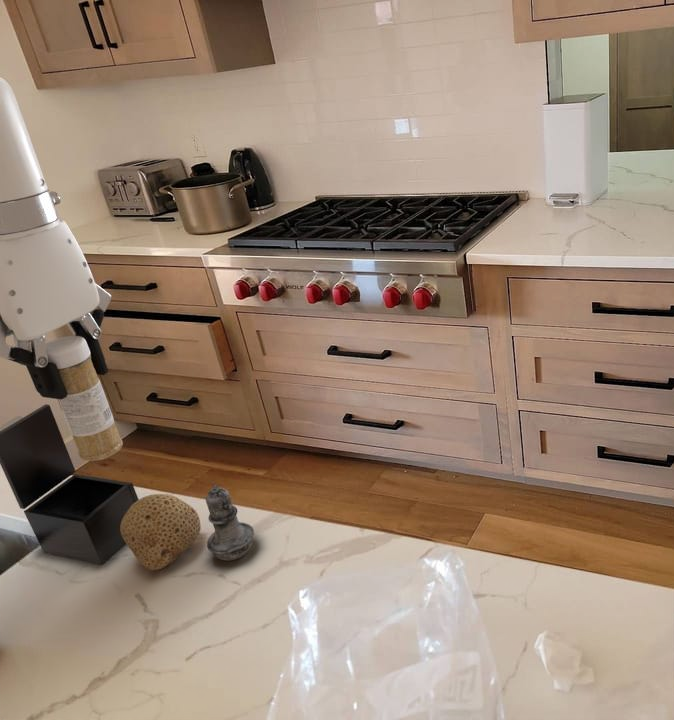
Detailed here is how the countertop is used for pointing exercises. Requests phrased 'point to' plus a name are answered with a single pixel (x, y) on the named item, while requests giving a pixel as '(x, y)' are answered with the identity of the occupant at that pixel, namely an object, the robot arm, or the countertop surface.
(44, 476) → the lid
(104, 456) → the sprinkles bottle
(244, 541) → the grey chess piece
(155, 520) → the natural sponge
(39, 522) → the black open box
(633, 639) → the countertop surface
